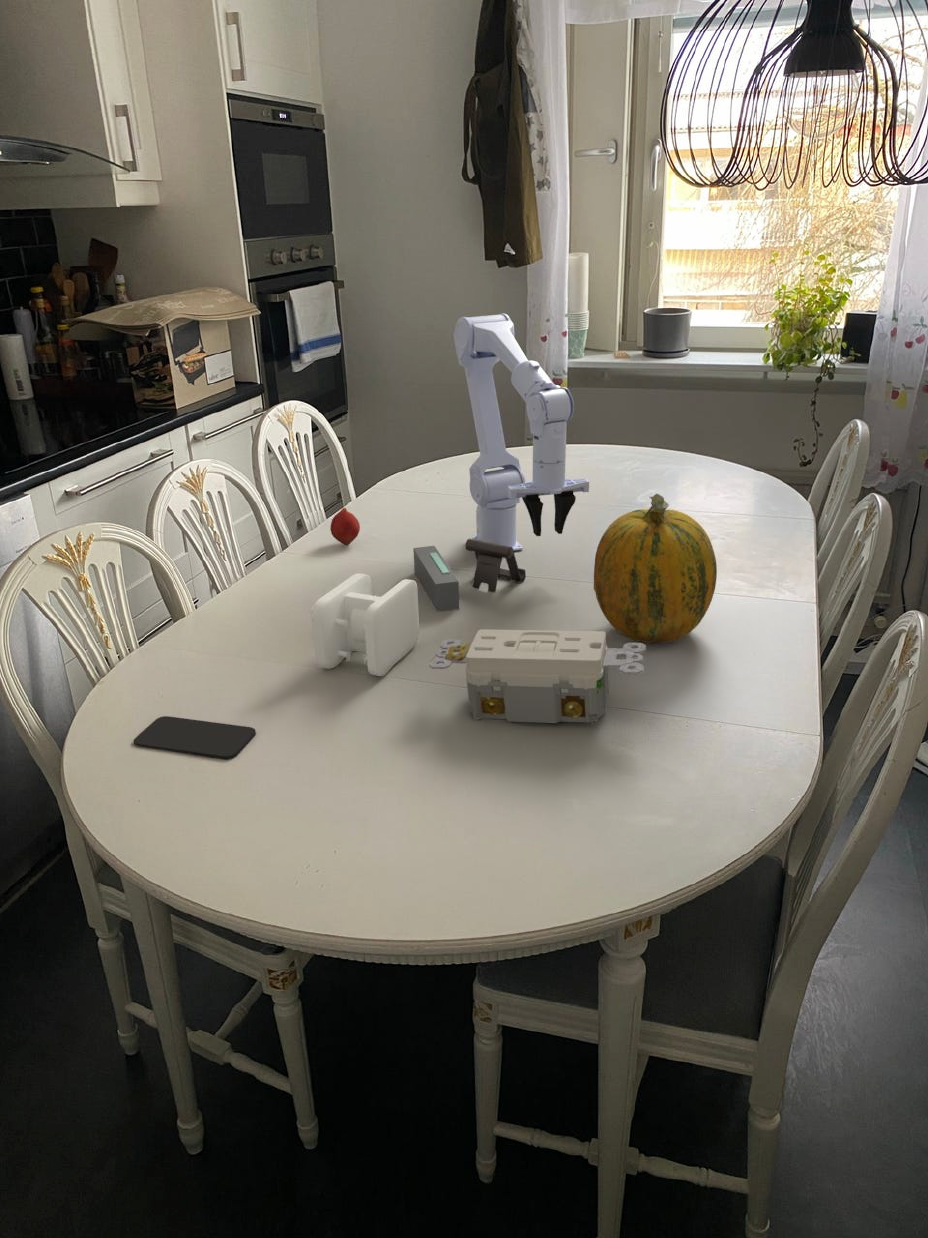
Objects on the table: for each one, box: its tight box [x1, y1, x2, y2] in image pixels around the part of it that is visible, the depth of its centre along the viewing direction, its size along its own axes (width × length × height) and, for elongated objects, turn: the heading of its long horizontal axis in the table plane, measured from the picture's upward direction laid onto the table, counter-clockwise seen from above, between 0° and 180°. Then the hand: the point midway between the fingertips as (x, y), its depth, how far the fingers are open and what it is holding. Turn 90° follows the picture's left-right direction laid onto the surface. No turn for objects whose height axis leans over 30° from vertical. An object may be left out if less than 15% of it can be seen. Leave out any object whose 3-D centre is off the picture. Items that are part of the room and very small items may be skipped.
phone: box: [132, 715, 257, 761], centre depth 125 cm, size 7×1×15 cm
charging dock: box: [412, 545, 460, 612], centre depth 168 cm, size 18×4×5 cm, turn 15°
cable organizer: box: [309, 573, 420, 677], centre depth 142 cm, size 15×11×12 cm
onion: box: [329, 507, 361, 546], centre depth 189 cm, size 6×6×8 cm
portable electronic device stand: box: [465, 538, 527, 593], centre depth 169 cm, size 9×8×8 cm
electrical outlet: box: [428, 629, 647, 724], centre depth 129 cm, size 12×28×10 cm, turn 77°
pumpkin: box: [593, 493, 718, 644], centre depth 146 cm, size 19×19×25 cm
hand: (547, 533), depth 170 cm, fingers open, 3 cm apart
